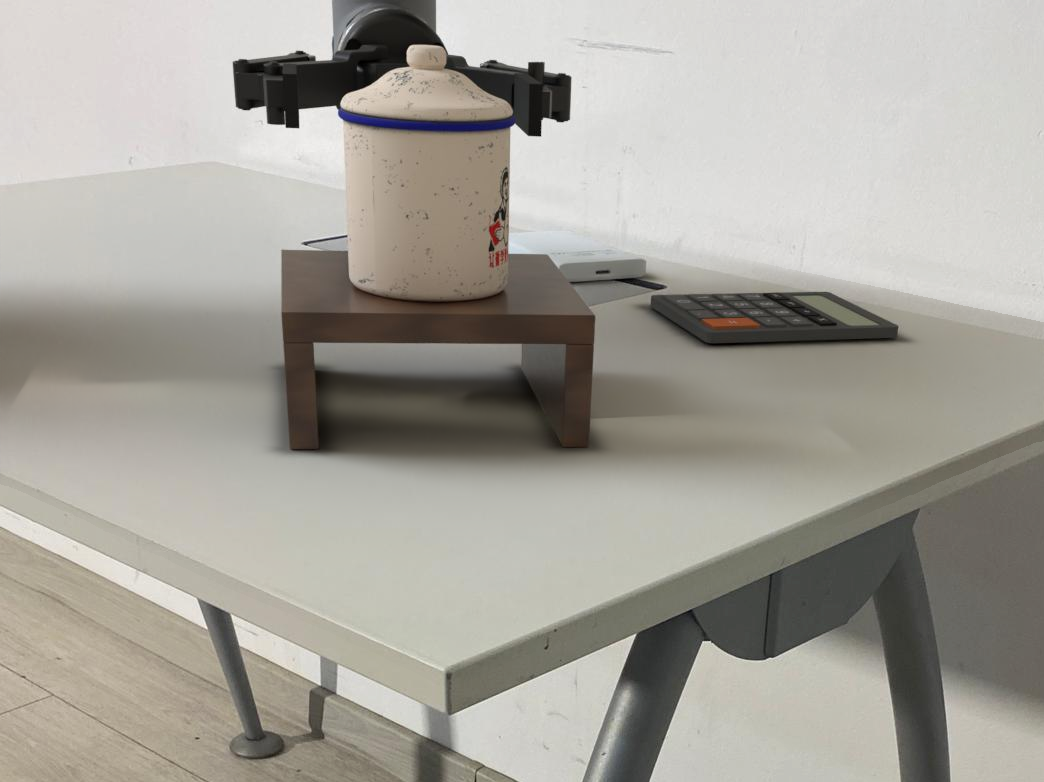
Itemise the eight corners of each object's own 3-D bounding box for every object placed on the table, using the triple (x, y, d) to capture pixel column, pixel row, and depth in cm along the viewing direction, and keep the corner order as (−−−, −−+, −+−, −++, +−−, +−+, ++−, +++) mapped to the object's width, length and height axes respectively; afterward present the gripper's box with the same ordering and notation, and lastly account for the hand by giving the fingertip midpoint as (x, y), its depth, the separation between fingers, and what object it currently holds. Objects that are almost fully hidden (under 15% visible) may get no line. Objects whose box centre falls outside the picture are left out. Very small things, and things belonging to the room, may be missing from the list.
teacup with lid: (530, 303, 76) (536, 56, 70) (358, 305, 73) (349, 50, 67) (480, 258, 85) (481, 38, 79) (327, 258, 83) (316, 31, 77)
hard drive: (573, 249, 126) (645, 277, 117) (489, 253, 123) (558, 283, 114) (573, 229, 126) (647, 256, 117) (490, 233, 122) (558, 261, 113)
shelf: (289, 449, 75) (281, 312, 71) (288, 368, 88) (281, 249, 85) (589, 447, 78) (595, 315, 74) (544, 369, 91) (547, 254, 88)
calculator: (649, 292, 107) (828, 288, 112) (648, 305, 108) (826, 301, 112) (708, 329, 98) (901, 324, 103) (707, 343, 99) (899, 337, 103)
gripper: (570, 137, 102) (628, 184, 84) (210, 125, 97) (191, 172, 80) (575, 17, 98) (637, 40, 80) (199, -1, 93) (177, 18, 76)
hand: (415, 106), depth 80 cm, fingers open, 13 cm apart
